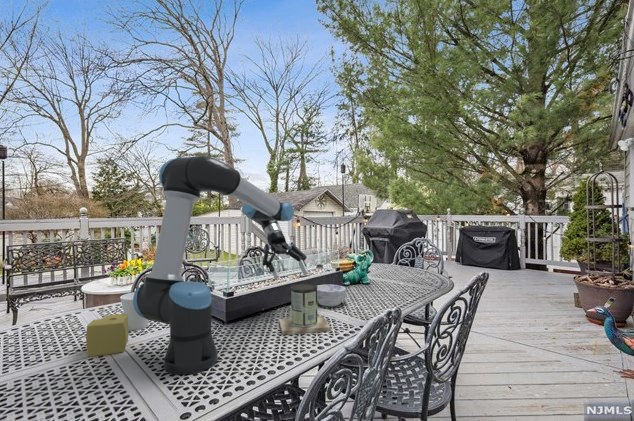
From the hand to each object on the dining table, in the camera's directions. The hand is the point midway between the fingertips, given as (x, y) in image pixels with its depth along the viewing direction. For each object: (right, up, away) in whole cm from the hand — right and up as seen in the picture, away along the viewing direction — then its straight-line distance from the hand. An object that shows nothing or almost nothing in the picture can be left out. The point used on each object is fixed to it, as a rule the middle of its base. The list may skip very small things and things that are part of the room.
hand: (292, 275), depth 140 cm
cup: (-59, -19, -7) cm, 63 cm away
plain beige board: (+5, -18, -7) cm, 20 cm away
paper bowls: (+16, -18, +23) cm, 33 cm away
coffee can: (+5, -17, -7) cm, 19 cm away
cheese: (-58, -19, -27) cm, 67 cm away
